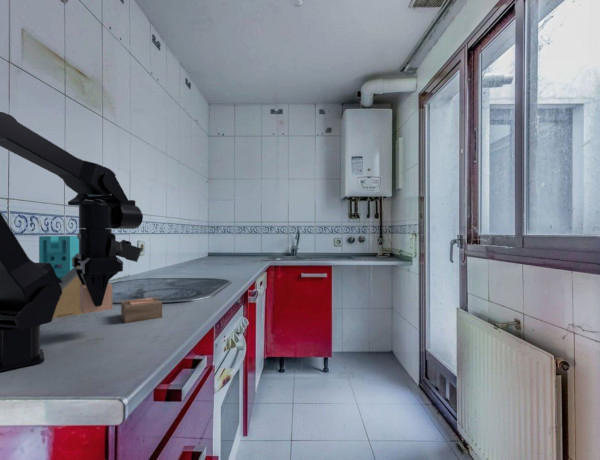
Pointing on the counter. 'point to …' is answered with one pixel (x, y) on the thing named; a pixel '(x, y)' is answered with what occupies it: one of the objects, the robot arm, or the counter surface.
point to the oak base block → (141, 309)
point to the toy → (58, 252)
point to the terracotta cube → (88, 304)
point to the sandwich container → (69, 296)
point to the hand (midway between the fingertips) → (95, 303)
